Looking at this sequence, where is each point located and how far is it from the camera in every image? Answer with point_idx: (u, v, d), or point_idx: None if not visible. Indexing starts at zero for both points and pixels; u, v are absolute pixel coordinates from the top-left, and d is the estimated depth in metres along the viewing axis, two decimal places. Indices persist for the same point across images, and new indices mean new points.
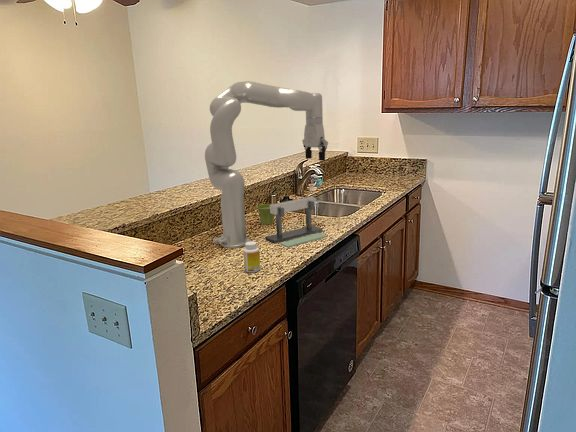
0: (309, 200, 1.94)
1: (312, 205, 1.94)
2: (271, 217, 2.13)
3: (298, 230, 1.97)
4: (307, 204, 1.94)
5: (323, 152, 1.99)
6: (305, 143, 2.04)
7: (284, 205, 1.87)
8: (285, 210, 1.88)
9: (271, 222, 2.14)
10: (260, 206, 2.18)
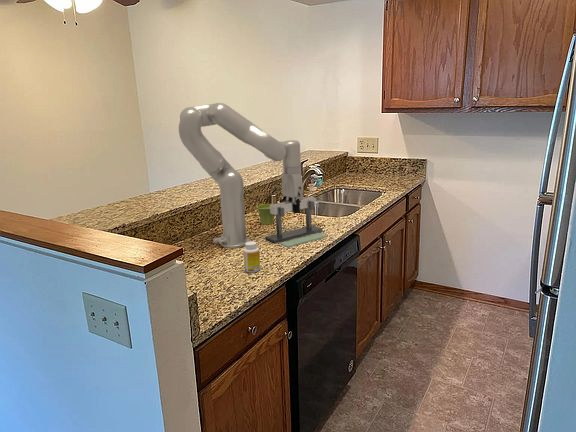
0: (309, 200, 1.94)
1: (312, 205, 1.94)
2: (271, 217, 2.13)
3: (298, 230, 1.97)
4: (307, 204, 1.94)
5: (298, 205, 1.89)
6: (283, 192, 1.92)
7: (284, 205, 1.87)
8: (285, 210, 1.88)
9: (271, 222, 2.14)
10: (260, 206, 2.18)
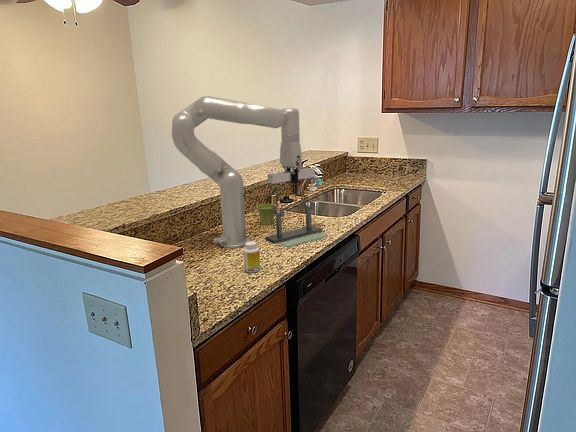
0: (308, 171, 1.91)
1: (312, 205, 1.94)
2: (271, 217, 2.13)
3: (298, 230, 1.97)
4: (306, 174, 1.91)
5: (296, 174, 1.86)
6: (281, 162, 1.88)
7: (282, 174, 1.83)
8: (283, 179, 1.84)
9: (271, 222, 2.14)
10: (260, 206, 2.18)
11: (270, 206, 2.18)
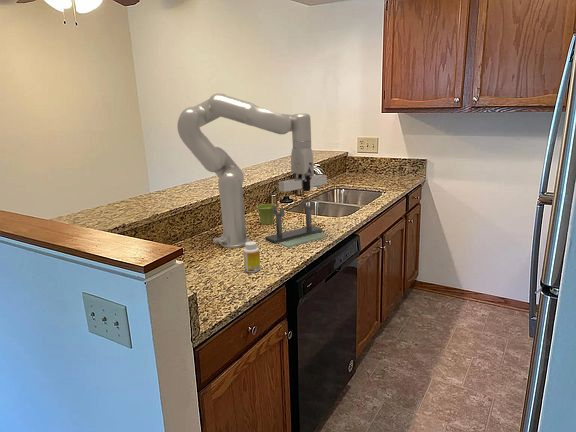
0: (320, 177, 1.85)
1: (312, 205, 1.94)
2: (271, 217, 2.13)
3: (298, 230, 1.97)
4: (318, 181, 1.84)
5: (308, 182, 1.80)
6: (292, 169, 1.82)
7: (293, 182, 1.77)
8: (295, 187, 1.78)
9: (271, 222, 2.14)
10: (260, 206, 2.18)
11: (270, 206, 2.18)
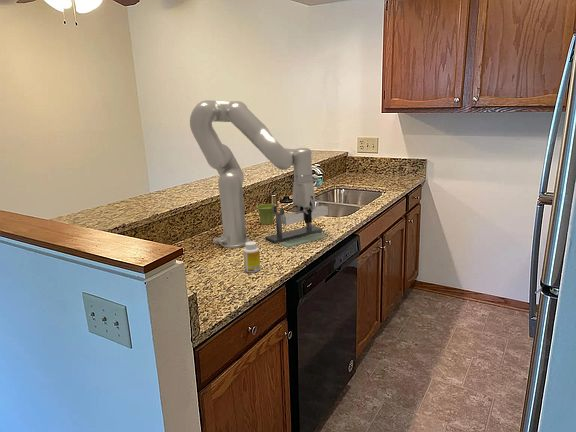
0: (321, 209, 1.88)
1: None
2: (271, 217, 2.13)
3: (298, 230, 1.97)
4: (319, 213, 1.88)
5: (309, 214, 1.83)
6: (294, 201, 1.86)
7: (295, 215, 1.81)
8: (297, 220, 1.82)
9: (271, 222, 2.14)
10: (260, 206, 2.18)
11: (270, 206, 2.18)
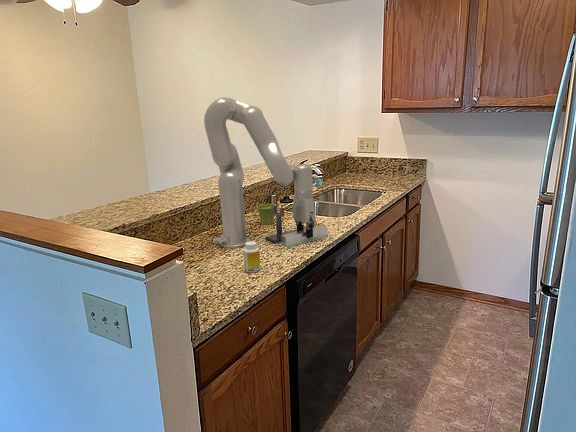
0: (321, 229, 1.90)
1: None
2: (271, 217, 2.13)
3: None
4: (318, 233, 1.90)
5: (311, 229, 1.84)
6: (294, 216, 1.87)
7: (295, 235, 1.83)
8: (296, 240, 1.84)
9: (271, 222, 2.14)
10: (260, 206, 2.18)
11: (270, 206, 2.18)
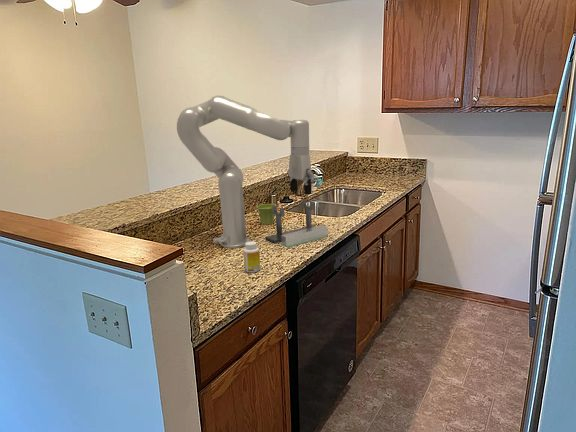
0: (321, 229, 1.90)
1: (312, 205, 1.94)
2: (271, 217, 2.13)
3: (298, 230, 1.97)
4: (318, 233, 1.90)
5: (309, 185, 1.78)
6: (290, 174, 1.83)
7: (295, 235, 1.83)
8: (296, 240, 1.84)
9: (271, 222, 2.14)
10: (260, 206, 2.18)
11: (270, 206, 2.18)
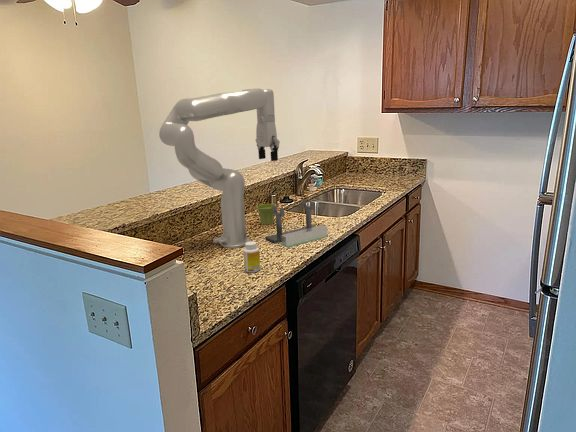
0: (321, 229, 1.90)
1: (312, 205, 1.94)
2: (271, 217, 2.13)
3: (298, 230, 1.97)
4: (318, 233, 1.90)
5: (275, 152, 1.87)
6: (257, 142, 1.92)
7: (295, 235, 1.83)
8: (296, 240, 1.84)
9: (271, 222, 2.14)
10: (260, 206, 2.18)
11: (270, 206, 2.18)
